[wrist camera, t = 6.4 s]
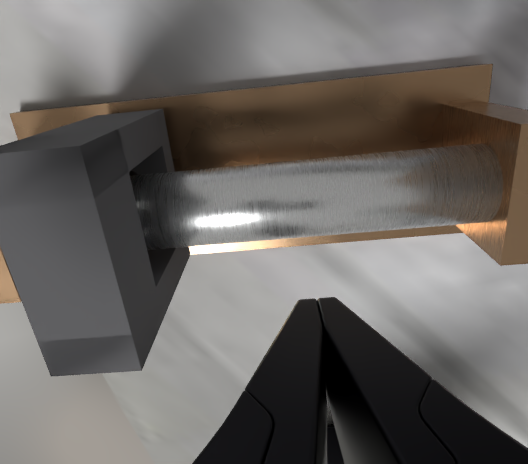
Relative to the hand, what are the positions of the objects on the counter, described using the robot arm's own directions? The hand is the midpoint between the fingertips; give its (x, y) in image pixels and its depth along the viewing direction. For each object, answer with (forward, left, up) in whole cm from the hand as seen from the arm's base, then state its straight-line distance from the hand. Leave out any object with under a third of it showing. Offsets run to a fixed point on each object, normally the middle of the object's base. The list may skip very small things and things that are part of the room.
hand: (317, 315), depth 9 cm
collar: (0, +7, -11) cm, 13 cm away
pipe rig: (0, +2, -12) cm, 13 cm away
